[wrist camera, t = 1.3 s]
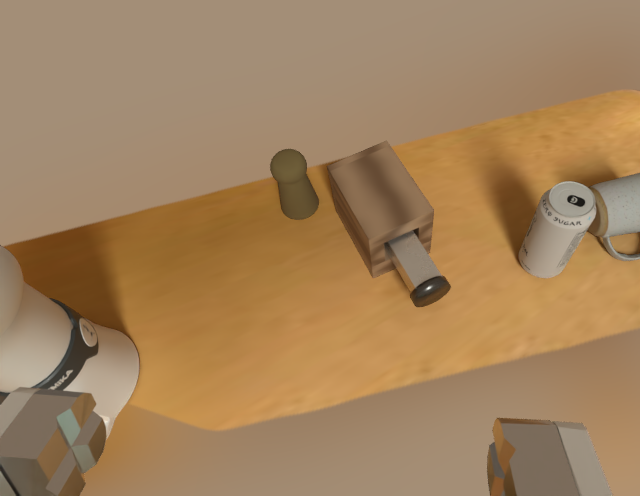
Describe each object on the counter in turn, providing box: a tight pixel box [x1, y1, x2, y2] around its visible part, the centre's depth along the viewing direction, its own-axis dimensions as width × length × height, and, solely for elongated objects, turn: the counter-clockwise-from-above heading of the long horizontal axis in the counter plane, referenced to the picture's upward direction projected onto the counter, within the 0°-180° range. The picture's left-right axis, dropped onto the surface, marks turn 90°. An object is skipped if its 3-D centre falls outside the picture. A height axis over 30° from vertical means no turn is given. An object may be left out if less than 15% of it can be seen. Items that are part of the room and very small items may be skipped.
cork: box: [270, 149, 319, 220], centre depth 75 cm, size 6×6×11 cm
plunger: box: [384, 230, 451, 307], centre depth 66 cm, size 5×13×5 cm, turn 23°
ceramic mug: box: [588, 173, 640, 261], centre depth 67 cm, size 11×8×8 cm
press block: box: [327, 141, 434, 278], centre depth 71 cm, size 9×13×11 cm
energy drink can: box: [519, 181, 596, 278], centre depth 63 cm, size 6×6×15 cm
